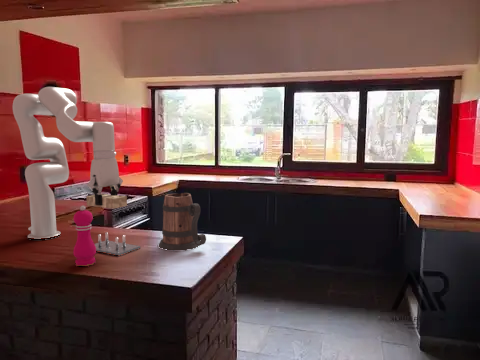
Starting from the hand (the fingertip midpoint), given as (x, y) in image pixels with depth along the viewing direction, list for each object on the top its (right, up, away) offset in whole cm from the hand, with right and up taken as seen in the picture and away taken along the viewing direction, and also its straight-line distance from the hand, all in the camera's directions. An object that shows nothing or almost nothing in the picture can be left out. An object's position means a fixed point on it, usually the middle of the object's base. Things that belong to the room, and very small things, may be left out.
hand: (106, 203), depth 149 cm
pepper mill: (-2, -20, -14) cm, 25 cm away
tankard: (+28, -17, +6) cm, 34 cm away
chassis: (+1, -18, +3) cm, 18 cm away
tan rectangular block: (0, -1, 0) cm, 1 cm away
